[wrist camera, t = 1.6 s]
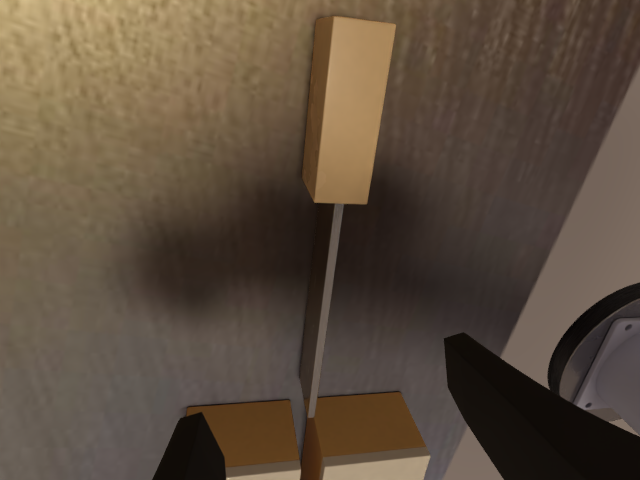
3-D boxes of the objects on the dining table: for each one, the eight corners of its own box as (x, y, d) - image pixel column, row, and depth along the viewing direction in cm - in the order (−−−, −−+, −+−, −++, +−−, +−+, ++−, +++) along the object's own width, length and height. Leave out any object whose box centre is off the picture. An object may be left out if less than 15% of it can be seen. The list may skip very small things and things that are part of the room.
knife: (315, 19, 16) (333, 15, 13) (368, 26, 17) (396, 24, 14) (283, 377, 24) (290, 423, 21) (320, 375, 25) (332, 419, 22)
